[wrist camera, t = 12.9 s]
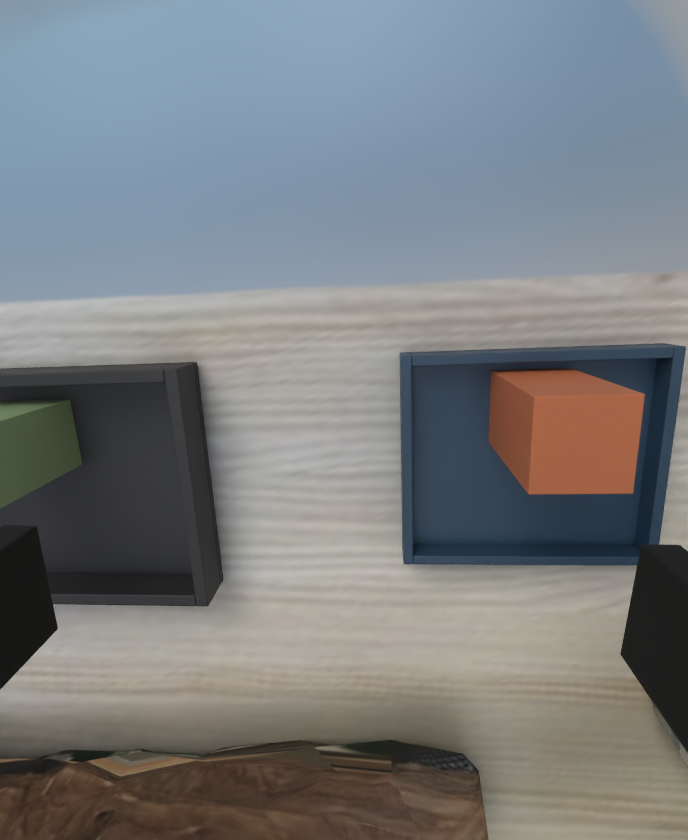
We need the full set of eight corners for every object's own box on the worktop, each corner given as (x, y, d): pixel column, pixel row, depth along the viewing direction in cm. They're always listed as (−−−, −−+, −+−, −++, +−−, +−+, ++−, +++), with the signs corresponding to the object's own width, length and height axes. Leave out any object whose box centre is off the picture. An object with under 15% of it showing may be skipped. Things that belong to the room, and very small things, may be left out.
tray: (664, 343, 27) (686, 346, 25) (638, 548, 30) (656, 566, 28) (399, 352, 28) (401, 356, 26) (402, 548, 31) (403, 564, 29)
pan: (196, 361, 29) (176, 368, 26) (223, 580, 33) (208, 606, 30) (-114, 372, 31) (-165, 379, 28) (-55, 577, 35) (-95, 602, 32)
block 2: (569, 367, 27) (645, 393, 19) (564, 441, 28) (633, 494, 20) (490, 369, 27) (534, 396, 19) (488, 442, 28) (528, 494, 21)
